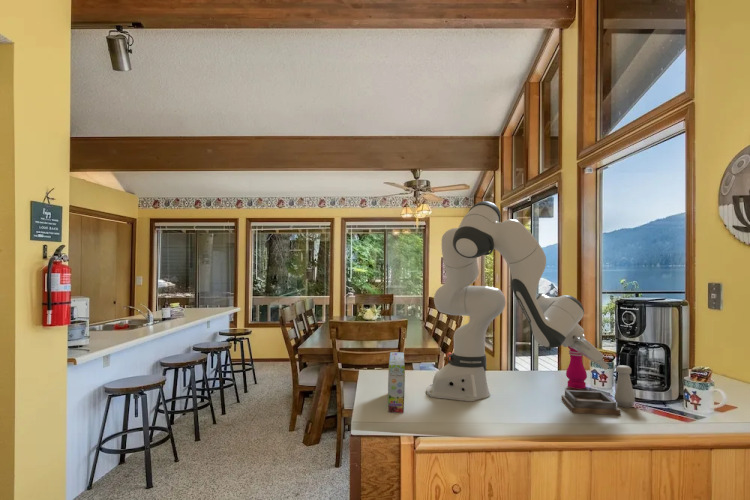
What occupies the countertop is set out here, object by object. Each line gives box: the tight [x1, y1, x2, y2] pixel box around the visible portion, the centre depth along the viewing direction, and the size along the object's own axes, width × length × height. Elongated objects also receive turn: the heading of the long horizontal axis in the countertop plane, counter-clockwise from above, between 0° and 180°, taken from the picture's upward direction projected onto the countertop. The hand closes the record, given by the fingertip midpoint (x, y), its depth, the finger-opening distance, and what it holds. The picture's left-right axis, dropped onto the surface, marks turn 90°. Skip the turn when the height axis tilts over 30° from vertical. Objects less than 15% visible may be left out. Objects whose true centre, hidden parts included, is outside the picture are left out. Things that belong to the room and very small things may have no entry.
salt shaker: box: [614, 364, 636, 409], centre depth 141 cm, size 6×6×13 cm
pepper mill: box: [565, 346, 588, 390], centre depth 163 cm, size 7×7×20 cm
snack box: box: [387, 351, 406, 414], centre depth 145 cm, size 21×6×15 cm, turn 177°
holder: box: [561, 389, 622, 416], centre depth 139 cm, size 14×13×4 cm
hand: (601, 364), depth 142 cm, fingers open, 8 cm apart
